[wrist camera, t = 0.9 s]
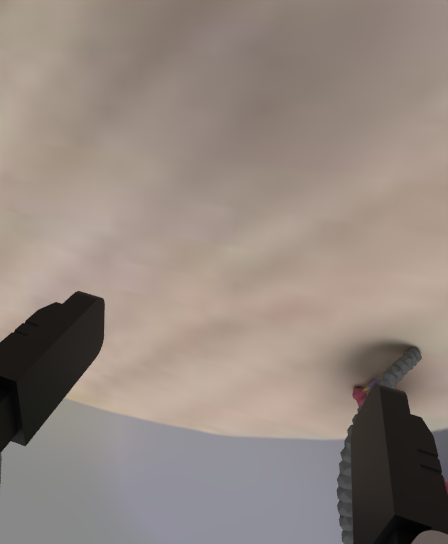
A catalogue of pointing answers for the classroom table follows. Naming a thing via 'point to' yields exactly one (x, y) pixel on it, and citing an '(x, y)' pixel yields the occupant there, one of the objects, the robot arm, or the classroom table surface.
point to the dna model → (344, 477)
